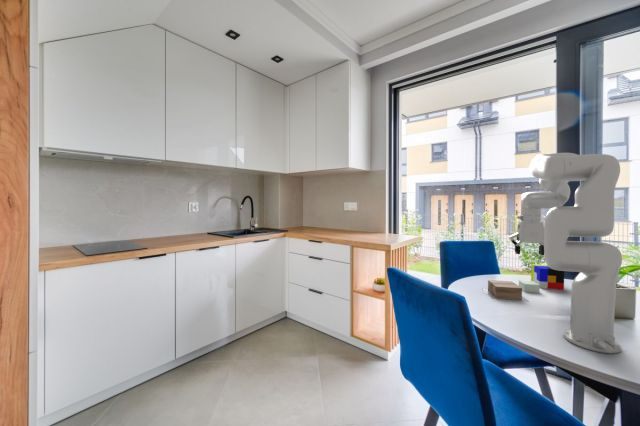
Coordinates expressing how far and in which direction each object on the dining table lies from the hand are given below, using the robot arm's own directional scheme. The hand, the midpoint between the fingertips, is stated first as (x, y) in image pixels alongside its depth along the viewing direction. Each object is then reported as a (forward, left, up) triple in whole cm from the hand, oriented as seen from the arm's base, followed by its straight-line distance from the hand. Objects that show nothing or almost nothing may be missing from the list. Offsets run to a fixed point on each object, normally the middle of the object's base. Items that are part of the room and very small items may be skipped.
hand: (529, 254), depth 128 cm
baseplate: (-10, +14, -19) cm, 25 cm away
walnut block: (-10, +14, -17) cm, 24 cm away
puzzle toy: (+14, -14, -19) cm, 27 cm away
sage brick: (0, 0, -19) cm, 19 cm away
